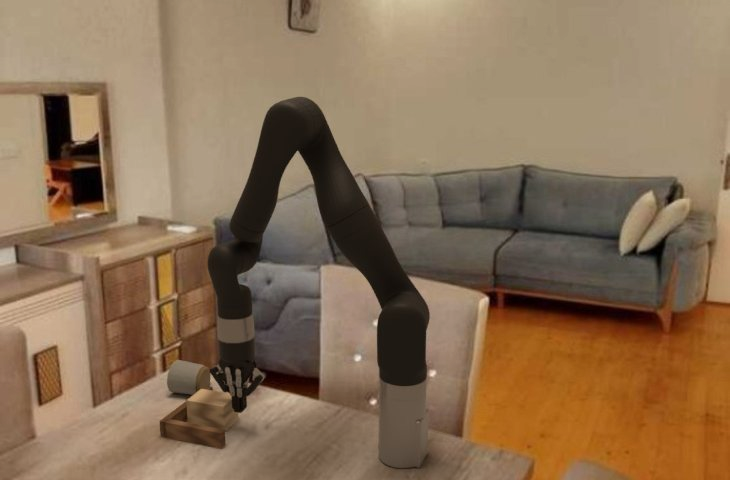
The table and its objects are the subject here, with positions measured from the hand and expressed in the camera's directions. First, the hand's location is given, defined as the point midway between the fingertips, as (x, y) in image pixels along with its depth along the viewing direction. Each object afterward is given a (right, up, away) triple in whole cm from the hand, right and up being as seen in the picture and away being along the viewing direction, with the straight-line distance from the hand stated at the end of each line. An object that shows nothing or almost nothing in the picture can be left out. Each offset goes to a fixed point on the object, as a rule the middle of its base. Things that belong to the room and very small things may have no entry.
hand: (239, 410), depth 149 cm
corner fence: (-6, -3, +3) cm, 7 cm away
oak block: (-6, -3, +3) cm, 8 cm away
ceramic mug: (-15, 0, +19) cm, 24 cm away
